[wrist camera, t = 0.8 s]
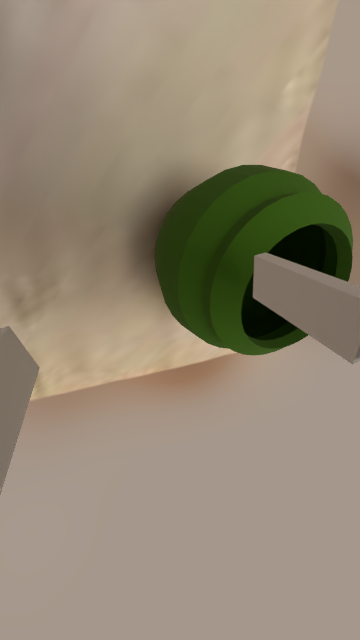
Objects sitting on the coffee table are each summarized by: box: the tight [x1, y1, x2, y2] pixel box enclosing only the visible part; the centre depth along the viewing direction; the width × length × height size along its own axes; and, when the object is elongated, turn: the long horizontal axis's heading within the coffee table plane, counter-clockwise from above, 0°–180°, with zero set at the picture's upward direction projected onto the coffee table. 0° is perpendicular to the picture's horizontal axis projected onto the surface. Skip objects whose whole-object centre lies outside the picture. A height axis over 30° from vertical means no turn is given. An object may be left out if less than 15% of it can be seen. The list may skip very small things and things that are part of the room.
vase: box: [155, 165, 353, 355], centre depth 28 cm, size 20×20×24 cm
